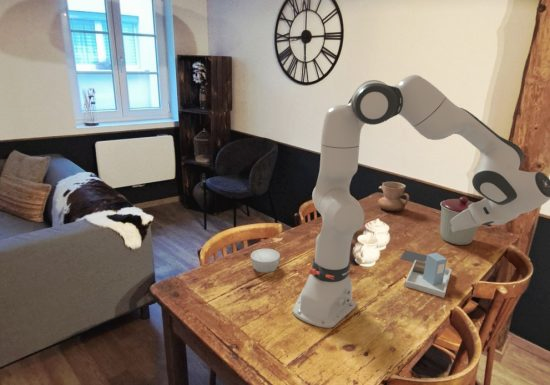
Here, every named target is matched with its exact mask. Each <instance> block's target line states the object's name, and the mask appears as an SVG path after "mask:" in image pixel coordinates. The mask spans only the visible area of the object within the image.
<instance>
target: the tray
mask: <svg viewBox="0 0 550 385" xmlns="http://www.w3.org/2000/svg"><path fill="white" fill-rule="evenodd" d="M417 261H418V260H417ZM415 262H416V260H415V261H414V262H412V266H411V268H410V270H409V272H408V275H407V276H406V279H405V281H404V287H406V288H410V289H412V290H416V291H419V292H424V293H426V294H430V295H434V296H436V297H440V298H445V295H446V292H447V288H448V284H449V282H450V281H449V280H450V277H451V274H452V273H451V272H452V269H451V268H448V267H445V272H444V277H443V282H442V283H441V284H437V285H434V286H433V285H431V284H430V283H428V282H427V281H425V280H424V279H423V274H420V273H417V272H413V268H414V264H415ZM421 262H422V261H421ZM425 263H426V261H425Z"/></svg>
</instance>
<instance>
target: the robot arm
mask: <svg viewBox="0 0 550 385" xmlns="http://www.w3.org/2000/svg"><path fill="white" fill-rule="evenodd" d="M398 115H399V116H401V117H402V118H403V119H405V121H407V122H408V123H409V125H411V126H412V127H413V129H415V130H416V131H417V132H418V133H419V134H420V135H421V136H423V137H424V138H426V139H427V140H431V141H438V140H439V141H440V140H443V139H446V138H448V137H451V136H453V135H459V136H460V137H462V138H464V139H465V140H466V141H468V143H470V144H471V145H472V146H474V147H475V148H476V149H477V150H478V151H479V152H480V158H481V159H480V162H479V164H478V166H477V168H476V170H475V171H474V174H473V177H472V181H471V183H472V186H473V189H474V190H475V191H476V192H477V193H478V194H479V195H481V196H482V197H484V198H483V199H481V200H478V201H476V202H474V203H472V204H470V205H469V206H468V209H466V210H464V211H462V212H461V213H459V214H458V215H456V216H455V217H453V218H452V219H451V221H450V223H451V225H452V226H451V230H452V232H455V231H459V230H463V229H468V228H472V227H478V228H479V227H480V226H486V225H487V226H488V225H491V226H494V225H495V226H502V225H505V224H507V223H509V222H511V221H514V220H515V219H517V218H519V216H521V214H527V213H530V212H532V211H534V210H536V209H538V208H540V207H542V206H543V205H544V204H546V203H547V202H548V201H550V178H549V177H548V176H547V175H546V174H545V173H544V172H541V171H534V172H532V171H531V172H530V171H525V170H520V168H521V167H522V165H523V162H524V160H525V156H524V152H523V150H522V149H521V147H520V146H519V145H517V144H516V143H514V142H513V141H511V140H509V139H506V138H504V137H502V136H501V135H499V134H497V133H496V132H495V131H494V130H493V129H492V128H490V127H489V126H488V125H487V124H485V123H484V122H483V121H482V120H481V119H479V117H477V116H475V115H474V114H473V113H472V112H470V111H468V110H467V109H464V108H462V107H459V106H457V105H456V104H455V103H453V102H452V101H451V100H450V99H449V98H448V97H447V96H446V95H445V94H444V93H443V92H442V91H441V90H439V88H437V87H436V85H434V84H432V83H431V82H430V81H428V80H426V79H425V78H423V77H422V76H420V75H417V74H411V75H408V76H405V77H404V78H403V79H402V80H400V81H399V82H398V83H397V84H395V85H388V84H387V83H385V82H383V81H381V80H377V79H372V80H367V81H365V82H363V83H362V84H360V85H359V86H358V87H357V88H356V90H355V91H354V93H353V95H352V96H351V98H350V99H349V100H348V104H337V105H334V106H332V107H331V108H329V109H328V110H327V111H326V113H325V117H324V121H323V124H322V130H321V140H320V160H319V172H318V176H317V180H316V184H315V187H314V188H313V191H312V195H311V198H312V202H313V205H314V208H315V209H316V211H317V212H318V213H319V214H320V216H321V219H322V220H321V221H322V227H321V229H320V232H319V234H318V235H317V236H316V238H315V250H314V254H315V255H314V257H313V261H312V264H311V267H310V268H309V270H308V274H309V275H308V277H307V280H306V282H305V284H304V286H303V288H302V290H301V292H300V294H299V295H298V298H297V300H296V301H295V303H294V306H293V309H292V314H293V315H294V316H295V317H296V318H298V319H300V320H301V321H303V322H305V323H308V324H310V325H314V326H315V327H316V326H317V327H319V328H330V329H331V328H334V327H335V326H336V325H337V324H338V323H340V321H342V320H343V319H344V318H345V317H346V316H348V314H350V313H351V312H352V311H353V310H355V308H356V307H357V304H356V302H355V301H354V299H353V284H354V283H353V282H352V280H351V277H350V270H351V262H350V255H351V249H352V248H351V245H352V242H353V238H354V235H355V233H357V231H359V230H360V229H361V228H362V226H363V225H364V222H365V217H366V216H365V212H364V209H363V207H362V206H361V203H360V202H359V201H358V200H357V199H356V198H355V197H354V196H352V195H351V192H350V186H351V181H352V179H353V177H354V175H355V174H356V173H357V171H358V167H359V156H360V155H359V153H360V143H361V142H360V141H361V140H360V139H361V132H362V128H363V127H364V125H366V124H367V125H370V126H371V125H372V126H373V125H379V124H382V123H384V122H387V121H388V120H390V119H392V118H394V117H396V116H398Z"/></svg>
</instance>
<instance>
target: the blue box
mask: <svg viewBox="0 0 550 385" xmlns="http://www.w3.org/2000/svg"><path fill="white" fill-rule="evenodd" d="M426 255H427V257H426V260H425V262H426V263H425V269H424V274H423V279H424V280H425V281H427V282H428V283H430V284H431V285H433V286H434V285H437V284H441V283H442V282H443V277H444V272H445V268H447V261H448V258H447V257H445V256H444V255H442V254H440V253H438V252H434V253H433V252H431V253H429V254H426Z"/></svg>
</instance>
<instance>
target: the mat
mask: <svg viewBox="0 0 550 385" xmlns="http://www.w3.org/2000/svg"><path fill="white" fill-rule="evenodd" d="M426 257H427V254H422V253H418V252H415V251H414V252H413V251H412V250H411V251H410V250H406V249H405V250H404V251H403V253H402V254H401V257H400V258H399V259H400V260H403V261H406V262H410V263H414V261H415V260H418V261H422V262H426Z"/></svg>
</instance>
